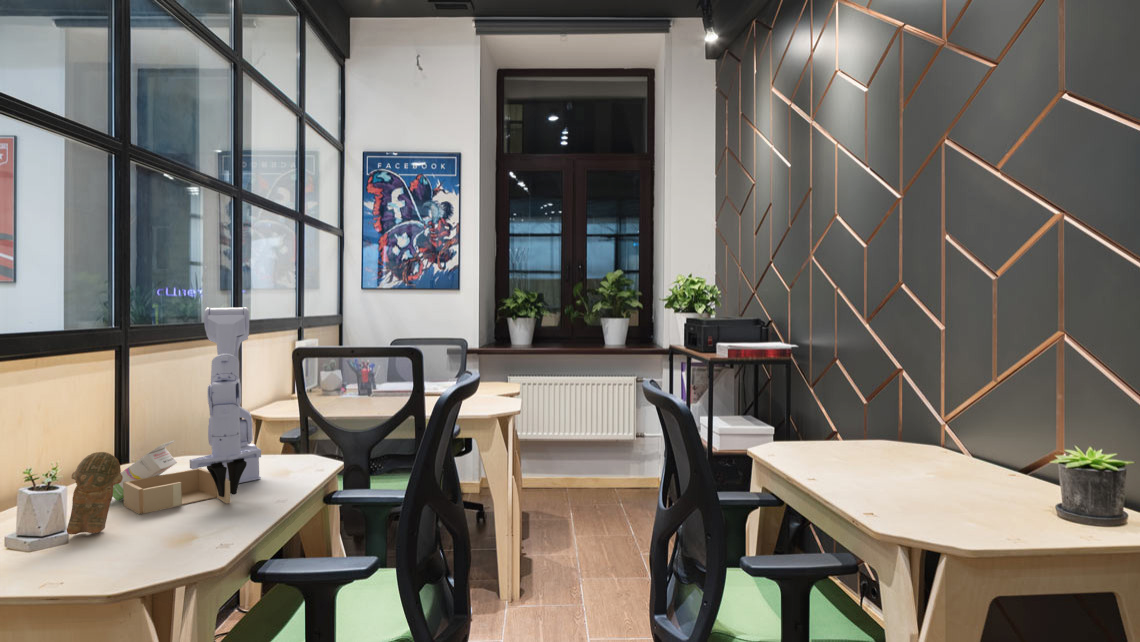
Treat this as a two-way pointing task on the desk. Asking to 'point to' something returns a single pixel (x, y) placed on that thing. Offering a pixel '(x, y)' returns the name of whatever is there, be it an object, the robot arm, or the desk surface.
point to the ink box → (146, 468)
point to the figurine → (93, 492)
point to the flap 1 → (162, 497)
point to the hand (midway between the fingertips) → (227, 494)
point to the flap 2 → (227, 492)
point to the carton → (193, 483)
